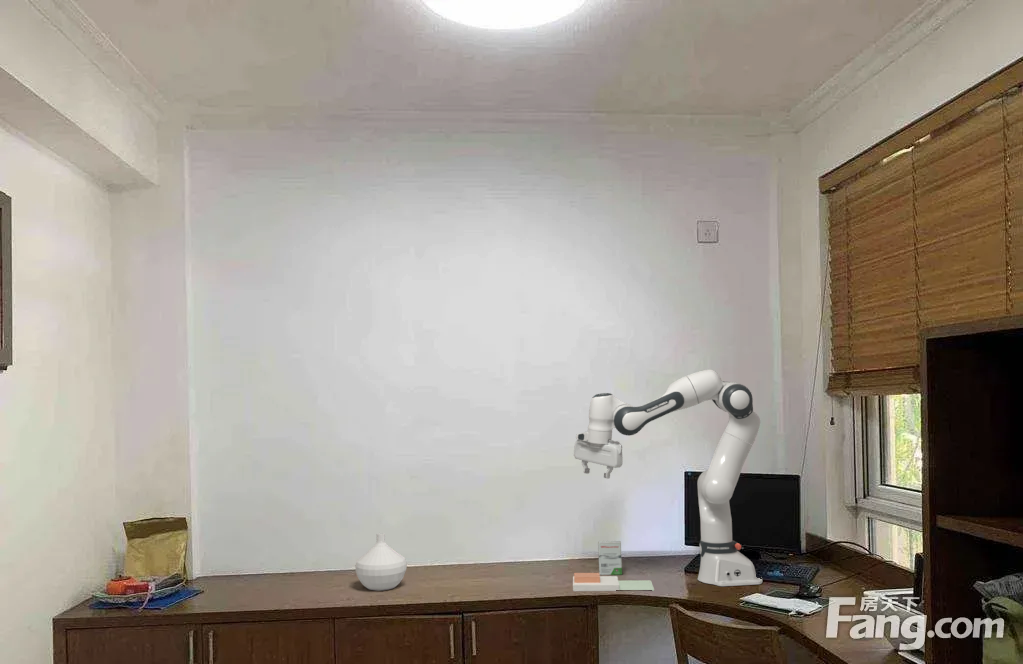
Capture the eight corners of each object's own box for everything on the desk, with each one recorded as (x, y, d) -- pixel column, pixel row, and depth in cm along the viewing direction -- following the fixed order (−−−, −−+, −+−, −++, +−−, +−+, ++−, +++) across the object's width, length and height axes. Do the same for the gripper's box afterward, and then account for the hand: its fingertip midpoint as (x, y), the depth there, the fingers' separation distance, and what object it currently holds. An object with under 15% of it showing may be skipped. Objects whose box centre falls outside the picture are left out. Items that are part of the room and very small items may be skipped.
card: (599, 578, 310) (599, 572, 310) (600, 582, 304) (599, 576, 304) (574, 578, 311) (574, 573, 311) (574, 582, 305) (574, 577, 305)
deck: (617, 581, 313) (617, 576, 313) (619, 590, 300) (619, 585, 300) (573, 581, 314) (572, 576, 314) (573, 591, 301) (572, 585, 301)
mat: (651, 581, 312) (650, 580, 312) (654, 590, 299) (654, 589, 299) (617, 581, 313) (617, 580, 313) (619, 590, 300) (619, 589, 300)
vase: (380, 578, 325) (380, 527, 326) (417, 585, 315) (416, 531, 316) (344, 589, 310) (344, 535, 311) (382, 596, 300) (381, 540, 301)
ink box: (622, 571, 328) (621, 540, 328) (622, 575, 323) (621, 542, 323) (598, 571, 329) (598, 540, 329) (598, 575, 324) (598, 543, 324)
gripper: (627, 441, 308) (624, 480, 309) (583, 433, 323) (580, 469, 323) (616, 442, 304) (613, 482, 304) (572, 433, 318) (569, 471, 319)
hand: (596, 475), depth 314 cm, fingers open, 8 cm apart
